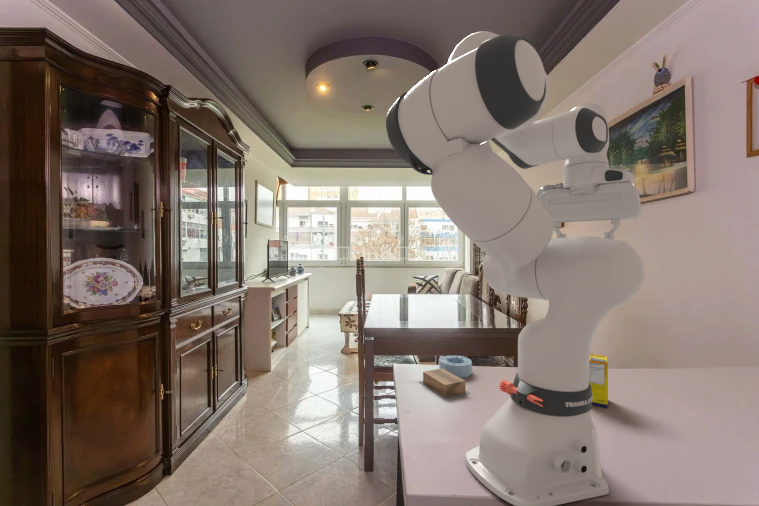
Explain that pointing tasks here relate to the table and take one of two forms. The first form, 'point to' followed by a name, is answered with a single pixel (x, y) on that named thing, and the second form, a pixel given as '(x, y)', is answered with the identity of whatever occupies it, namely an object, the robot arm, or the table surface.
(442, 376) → the tan rectangular sponge
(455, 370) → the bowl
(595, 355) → the supplement box
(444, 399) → the mat
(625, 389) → the table surface
